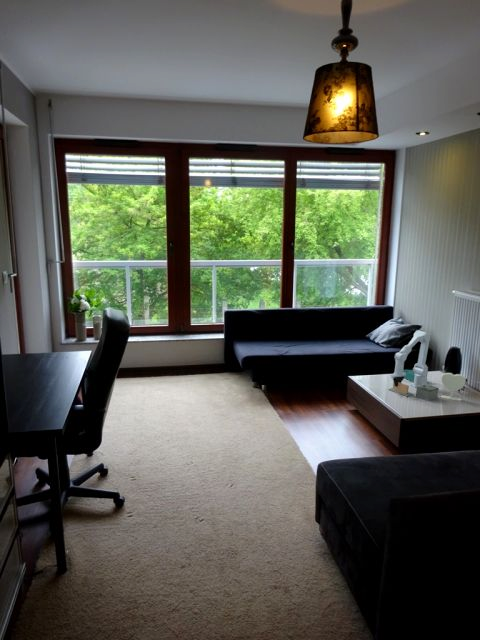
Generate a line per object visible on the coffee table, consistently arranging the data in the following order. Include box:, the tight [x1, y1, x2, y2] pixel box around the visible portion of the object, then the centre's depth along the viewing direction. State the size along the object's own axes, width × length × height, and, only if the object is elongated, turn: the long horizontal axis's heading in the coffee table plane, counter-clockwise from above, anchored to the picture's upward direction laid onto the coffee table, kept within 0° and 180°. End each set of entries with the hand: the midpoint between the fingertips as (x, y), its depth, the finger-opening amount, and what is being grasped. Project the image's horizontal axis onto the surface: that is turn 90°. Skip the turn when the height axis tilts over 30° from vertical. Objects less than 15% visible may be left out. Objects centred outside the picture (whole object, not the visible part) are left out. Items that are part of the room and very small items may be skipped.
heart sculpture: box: [440, 372, 467, 401], centre depth 326 cm, size 16×5×18 cm, turn 64°
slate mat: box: [388, 387, 414, 398], centre depth 335 cm, size 8×16×1 cm, turn 34°
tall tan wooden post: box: [392, 381, 410, 394], centre depth 335 cm, size 2×12×6 cm, turn 33°
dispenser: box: [415, 383, 439, 401], centre depth 327 cm, size 11×11×8 cm
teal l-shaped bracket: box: [403, 369, 428, 383], centre depth 366 cm, size 18×11×10 cm, turn 17°
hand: (397, 386), depth 337 cm, fingers closed
